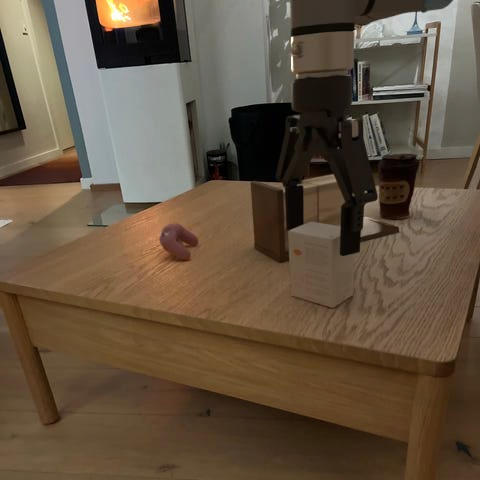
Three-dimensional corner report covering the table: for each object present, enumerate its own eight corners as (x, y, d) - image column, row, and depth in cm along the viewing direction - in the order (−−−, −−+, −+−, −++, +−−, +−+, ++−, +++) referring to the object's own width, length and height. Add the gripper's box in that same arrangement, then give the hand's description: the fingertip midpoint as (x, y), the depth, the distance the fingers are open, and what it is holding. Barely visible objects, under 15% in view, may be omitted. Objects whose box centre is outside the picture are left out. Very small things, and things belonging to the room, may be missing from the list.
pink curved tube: (183, 251, 100) (164, 223, 98) (201, 241, 99) (182, 212, 96) (172, 269, 92) (151, 239, 89) (192, 258, 90) (171, 227, 88)
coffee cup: (409, 223, 101) (415, 159, 95) (370, 220, 105) (373, 159, 99) (418, 212, 107) (424, 151, 101) (381, 209, 111) (384, 151, 105)
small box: (354, 296, 72) (356, 228, 67) (332, 309, 68) (333, 239, 63) (311, 283, 77) (310, 220, 72) (289, 295, 73) (287, 229, 69)
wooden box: (399, 231, 96) (404, 165, 90) (279, 262, 86) (276, 190, 80) (366, 221, 104) (369, 159, 98) (254, 248, 94) (249, 181, 88)
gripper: (248, 79, 67) (256, 225, 77) (362, 74, 47) (354, 272, 57) (293, 75, 70) (296, 217, 80) (420, 69, 50) (402, 259, 60)
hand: (320, 240), depth 68 cm, fingers open, 13 cm apart
